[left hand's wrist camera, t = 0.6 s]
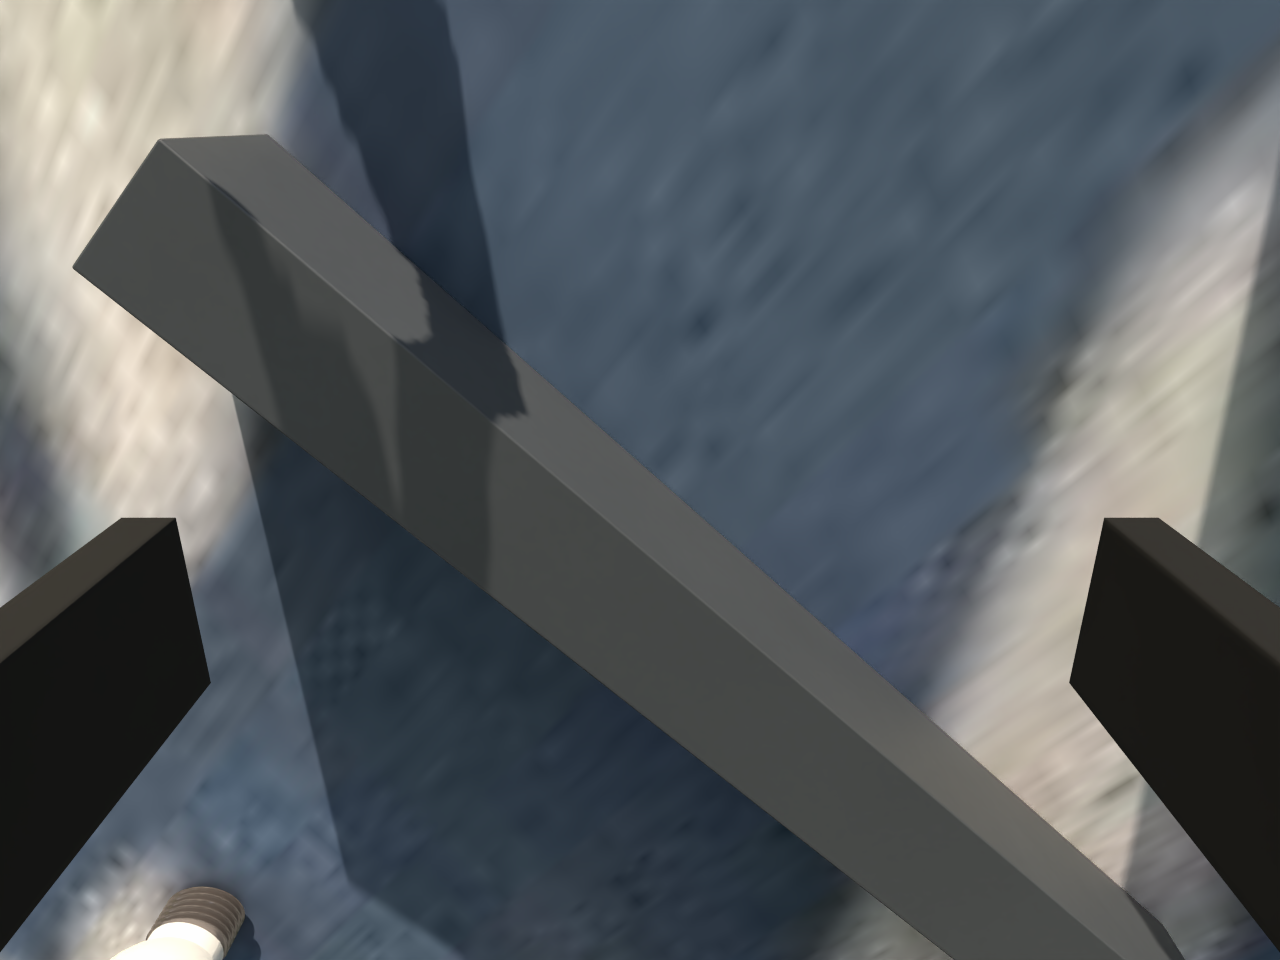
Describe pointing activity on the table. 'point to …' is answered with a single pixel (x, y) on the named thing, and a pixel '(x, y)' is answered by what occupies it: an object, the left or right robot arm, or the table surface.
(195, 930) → the light bulb
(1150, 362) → the table surface
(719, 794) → the table surface
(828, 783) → the beam
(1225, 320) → the table surface
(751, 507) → the table surface
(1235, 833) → the left robot arm
